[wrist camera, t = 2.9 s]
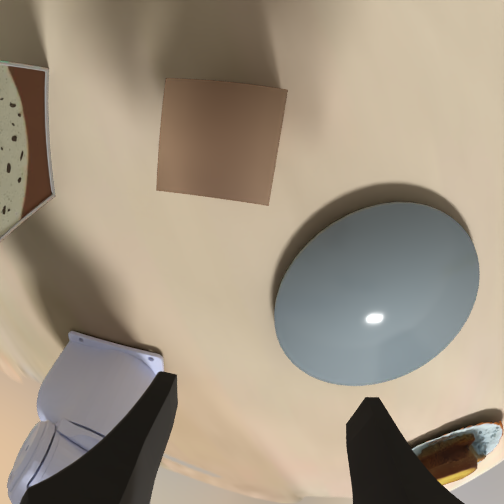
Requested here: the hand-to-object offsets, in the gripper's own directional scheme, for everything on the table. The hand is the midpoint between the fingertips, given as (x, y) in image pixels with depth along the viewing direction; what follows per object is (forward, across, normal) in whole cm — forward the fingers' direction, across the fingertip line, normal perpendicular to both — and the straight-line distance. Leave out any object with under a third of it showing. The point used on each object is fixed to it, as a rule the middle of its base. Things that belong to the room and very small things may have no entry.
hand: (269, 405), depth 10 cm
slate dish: (+10, -9, +2) cm, 14 cm away
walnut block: (+11, +4, -8) cm, 14 cm away
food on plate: (+11, -34, +31) cm, 47 cm away
